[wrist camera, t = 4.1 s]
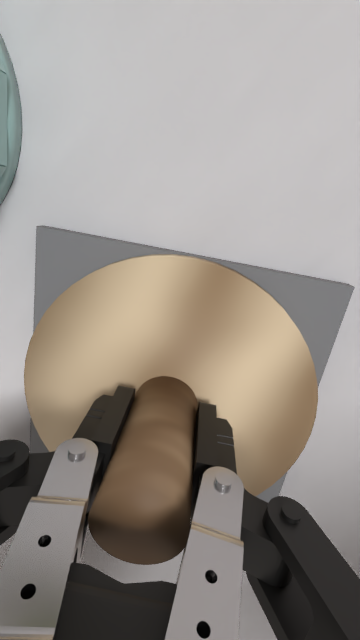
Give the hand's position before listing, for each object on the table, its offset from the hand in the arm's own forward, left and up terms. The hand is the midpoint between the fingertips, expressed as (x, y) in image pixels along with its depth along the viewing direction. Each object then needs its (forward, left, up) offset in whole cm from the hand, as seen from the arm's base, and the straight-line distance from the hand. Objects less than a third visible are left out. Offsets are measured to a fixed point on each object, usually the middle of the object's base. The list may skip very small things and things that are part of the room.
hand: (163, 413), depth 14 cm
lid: (0, 0, -2) cm, 2 cm away
